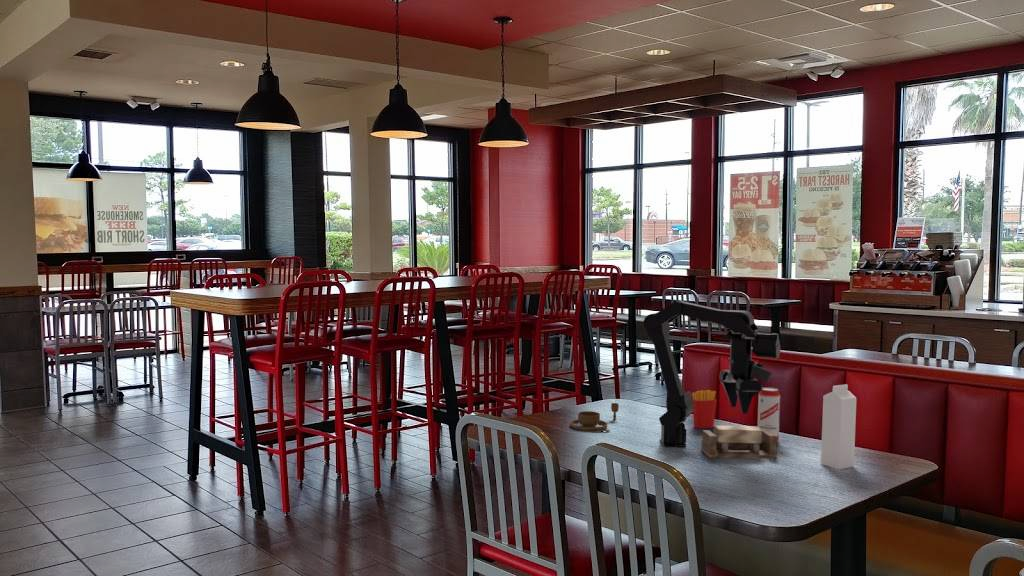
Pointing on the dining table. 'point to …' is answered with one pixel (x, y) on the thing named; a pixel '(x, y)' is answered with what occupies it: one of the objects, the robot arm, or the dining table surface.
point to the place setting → (592, 420)
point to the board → (738, 434)
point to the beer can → (769, 410)
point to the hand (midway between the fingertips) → (739, 410)
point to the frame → (739, 447)
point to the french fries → (704, 408)
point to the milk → (838, 428)
